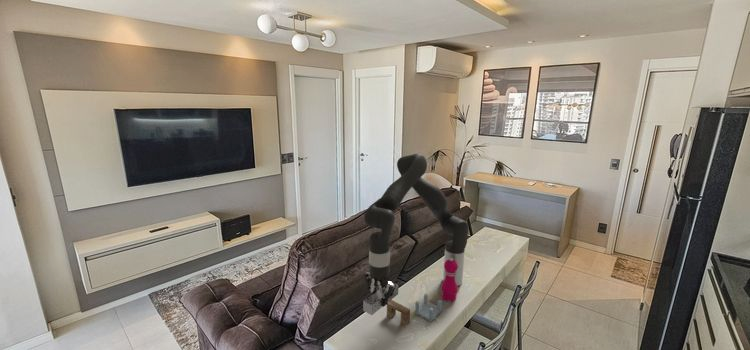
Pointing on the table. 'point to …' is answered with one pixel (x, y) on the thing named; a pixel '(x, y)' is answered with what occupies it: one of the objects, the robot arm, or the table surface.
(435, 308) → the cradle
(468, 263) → the table surface
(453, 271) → the pepper mill
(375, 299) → the steel bar
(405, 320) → the wooden arch block
